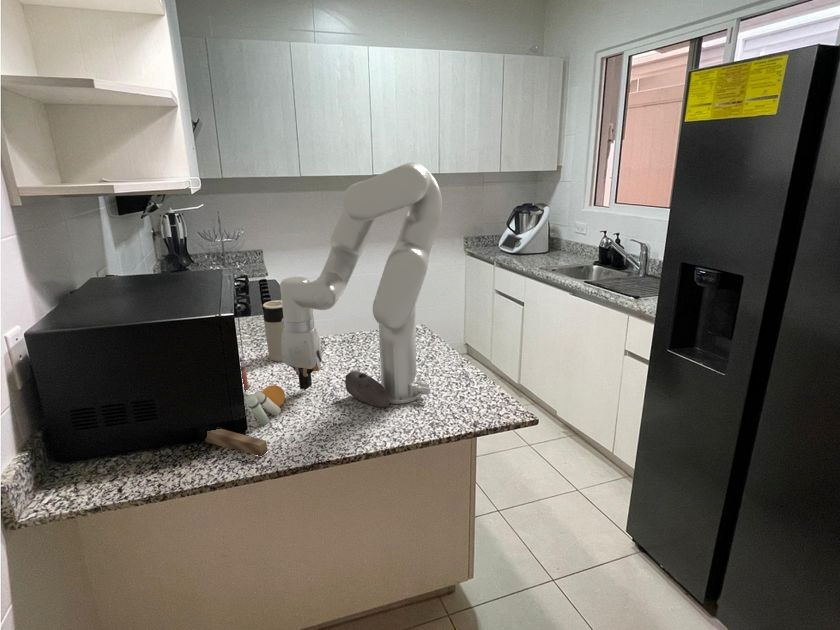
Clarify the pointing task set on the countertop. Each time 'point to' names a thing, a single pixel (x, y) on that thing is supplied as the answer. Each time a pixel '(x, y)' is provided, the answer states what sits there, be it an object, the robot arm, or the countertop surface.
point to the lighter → (244, 375)
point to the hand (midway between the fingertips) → (305, 387)
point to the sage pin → (257, 409)
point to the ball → (275, 394)
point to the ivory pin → (267, 403)
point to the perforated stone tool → (366, 389)
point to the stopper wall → (237, 441)
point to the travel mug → (274, 328)
